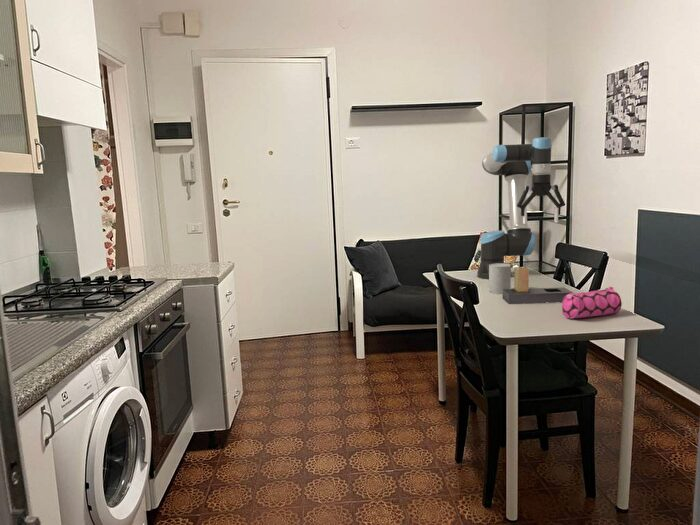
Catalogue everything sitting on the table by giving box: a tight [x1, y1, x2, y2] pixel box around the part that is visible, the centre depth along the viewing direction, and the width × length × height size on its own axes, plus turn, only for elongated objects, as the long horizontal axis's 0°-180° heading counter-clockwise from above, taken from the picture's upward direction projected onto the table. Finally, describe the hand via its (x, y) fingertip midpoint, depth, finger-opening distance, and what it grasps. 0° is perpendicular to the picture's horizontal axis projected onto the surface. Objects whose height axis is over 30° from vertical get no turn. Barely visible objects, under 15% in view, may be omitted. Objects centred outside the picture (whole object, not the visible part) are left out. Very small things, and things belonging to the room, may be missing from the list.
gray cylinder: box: [488, 262, 512, 295], centre depth 241 cm, size 10×10×12 cm
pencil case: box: [561, 286, 623, 320], centre depth 197 cm, size 21×10×10 cm, turn 112°
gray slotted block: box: [502, 286, 574, 305], centre depth 223 cm, size 10×26×4 cm, turn 88°
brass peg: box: [513, 266, 530, 293], centre depth 223 cm, size 4×4×14 cm
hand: (540, 223), depth 234 cm, fingers open, 13 cm apart
